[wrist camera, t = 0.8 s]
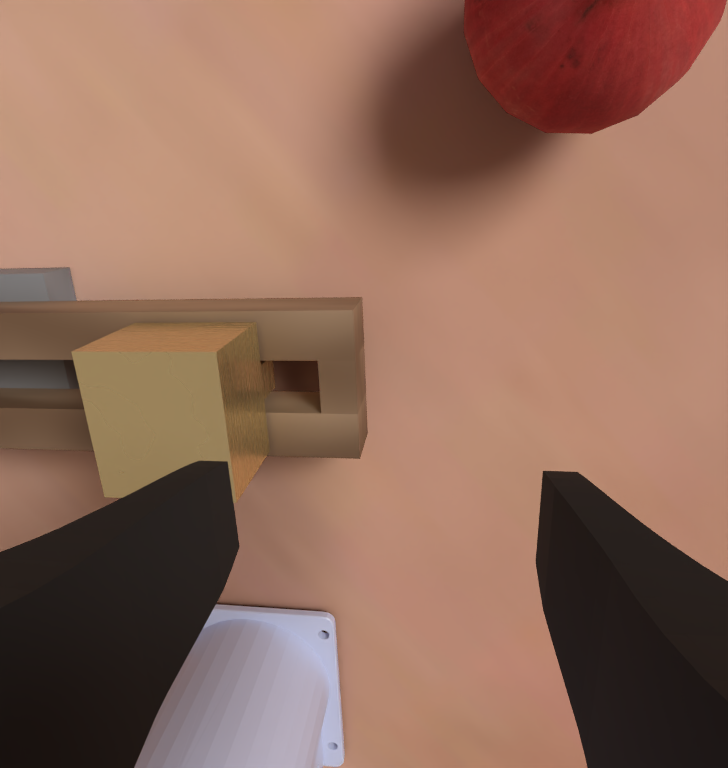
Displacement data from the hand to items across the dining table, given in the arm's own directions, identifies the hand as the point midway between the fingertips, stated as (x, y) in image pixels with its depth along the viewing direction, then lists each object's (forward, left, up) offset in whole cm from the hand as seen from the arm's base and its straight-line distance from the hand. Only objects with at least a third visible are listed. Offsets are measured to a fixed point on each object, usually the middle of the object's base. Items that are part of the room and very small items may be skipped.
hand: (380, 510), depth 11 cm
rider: (0, +6, -9) cm, 11 cm away
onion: (+10, -4, -11) cm, 15 cm away
